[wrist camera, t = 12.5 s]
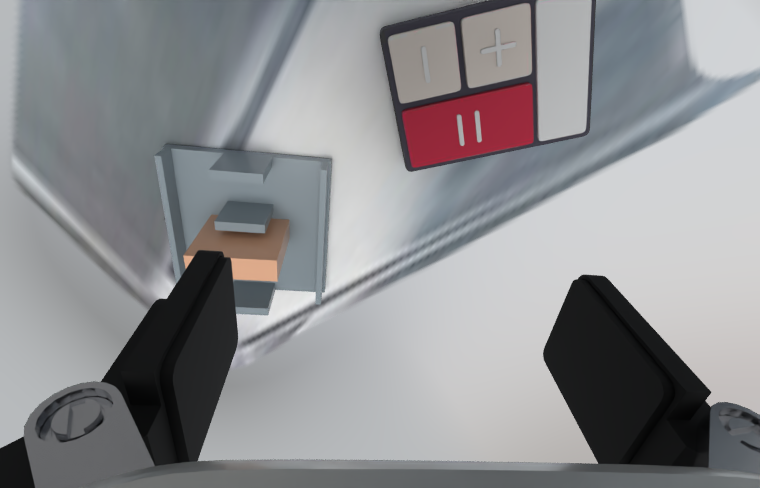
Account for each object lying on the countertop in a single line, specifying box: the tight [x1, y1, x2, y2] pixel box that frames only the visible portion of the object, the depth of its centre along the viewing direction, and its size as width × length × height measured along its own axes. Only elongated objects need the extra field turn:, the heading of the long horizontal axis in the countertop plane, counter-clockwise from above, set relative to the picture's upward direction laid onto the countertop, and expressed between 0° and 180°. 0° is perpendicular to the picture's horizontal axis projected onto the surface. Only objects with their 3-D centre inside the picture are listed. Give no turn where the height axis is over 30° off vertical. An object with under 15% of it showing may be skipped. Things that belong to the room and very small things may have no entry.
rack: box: [154, 144, 332, 315], centre depth 37 cm, size 14×14×5 cm
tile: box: [183, 215, 290, 282], centre depth 35 cm, size 2×7×7 cm, turn 84°
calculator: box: [380, 0, 596, 172], centre depth 32 cm, size 11×4×15 cm
